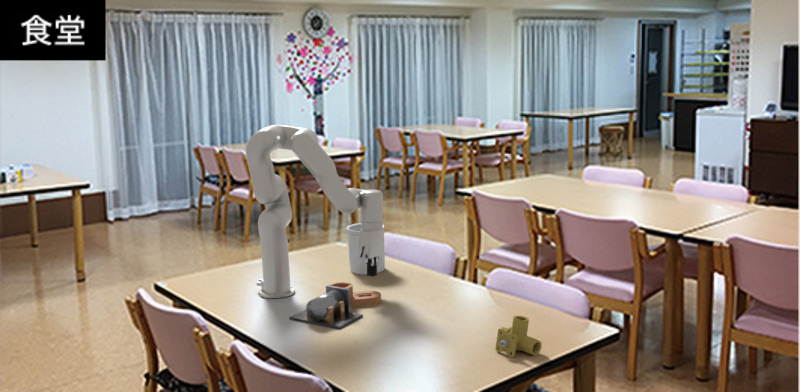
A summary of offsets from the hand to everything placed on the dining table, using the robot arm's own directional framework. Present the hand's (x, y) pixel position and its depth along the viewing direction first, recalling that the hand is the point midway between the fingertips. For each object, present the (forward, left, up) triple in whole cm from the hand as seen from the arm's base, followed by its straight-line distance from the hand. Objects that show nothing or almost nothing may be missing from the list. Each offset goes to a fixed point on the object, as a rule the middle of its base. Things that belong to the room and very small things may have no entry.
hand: (371, 275), depth 282 cm
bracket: (0, -11, -7) cm, 13 cm away
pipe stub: (+1, -28, -7) cm, 29 cm away
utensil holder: (-19, +25, -7) cm, 32 cm away
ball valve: (+66, -27, -7) cm, 72 cm away
